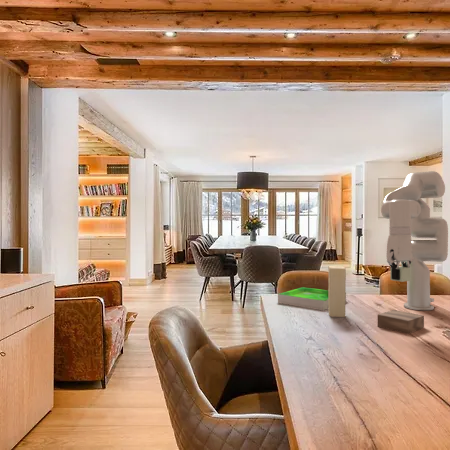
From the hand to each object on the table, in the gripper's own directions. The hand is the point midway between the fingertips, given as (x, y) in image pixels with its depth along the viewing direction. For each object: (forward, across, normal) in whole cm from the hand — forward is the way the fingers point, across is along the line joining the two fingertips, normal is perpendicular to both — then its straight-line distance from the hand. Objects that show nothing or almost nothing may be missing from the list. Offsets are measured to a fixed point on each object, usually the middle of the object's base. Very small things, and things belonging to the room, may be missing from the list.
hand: (400, 278), depth 142 cm
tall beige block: (+19, +6, -26) cm, 33 cm away
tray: (+20, -3, -51) cm, 55 cm away
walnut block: (+19, 0, 0) cm, 19 cm away
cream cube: (+1, 0, 0) cm, 1 cm away
